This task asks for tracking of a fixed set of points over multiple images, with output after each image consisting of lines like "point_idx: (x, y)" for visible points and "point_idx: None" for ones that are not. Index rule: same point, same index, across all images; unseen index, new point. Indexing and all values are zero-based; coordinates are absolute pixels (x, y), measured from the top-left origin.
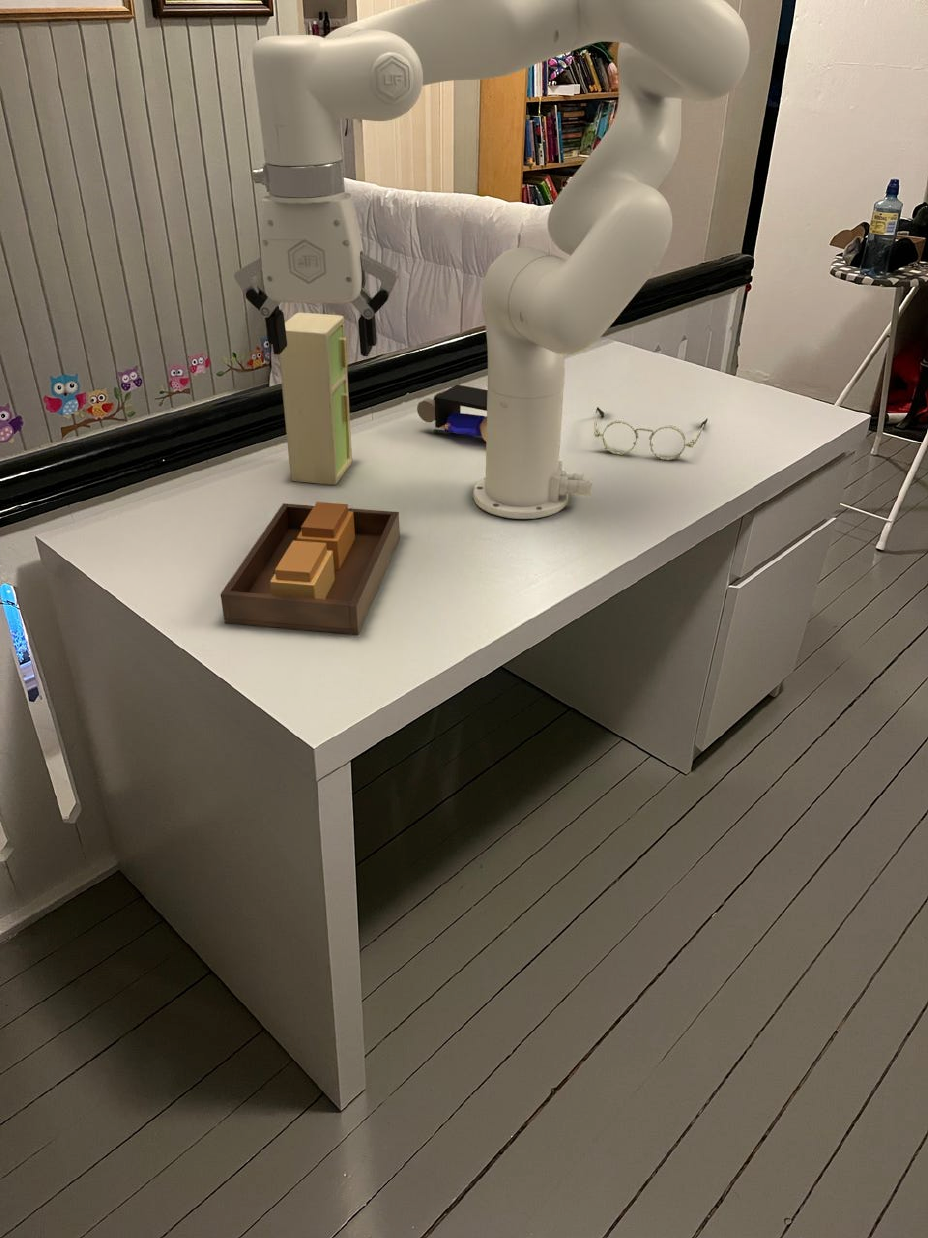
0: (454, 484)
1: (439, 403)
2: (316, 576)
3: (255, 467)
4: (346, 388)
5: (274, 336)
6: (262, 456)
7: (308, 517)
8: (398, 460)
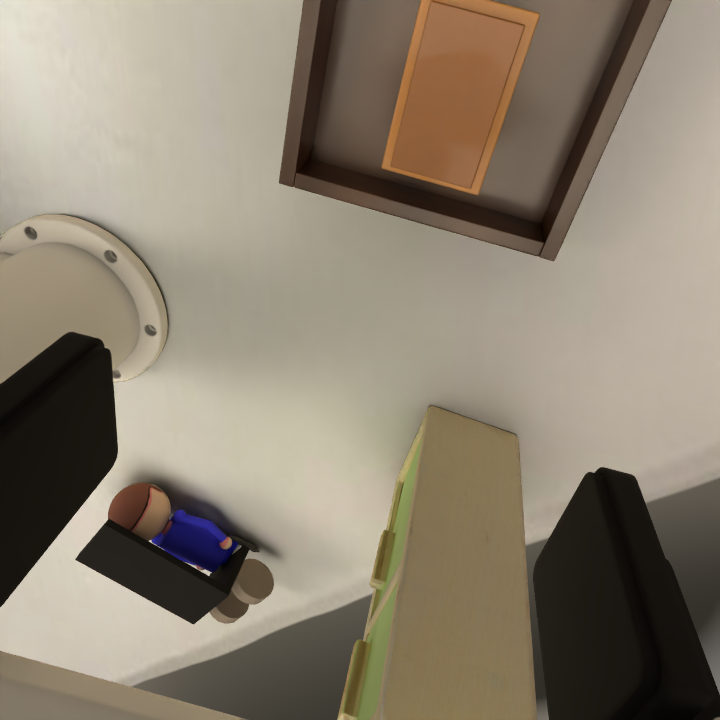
0: (209, 372)
1: (224, 582)
2: None
3: None
4: (373, 602)
5: (643, 553)
6: None
7: (499, 89)
8: (313, 472)
